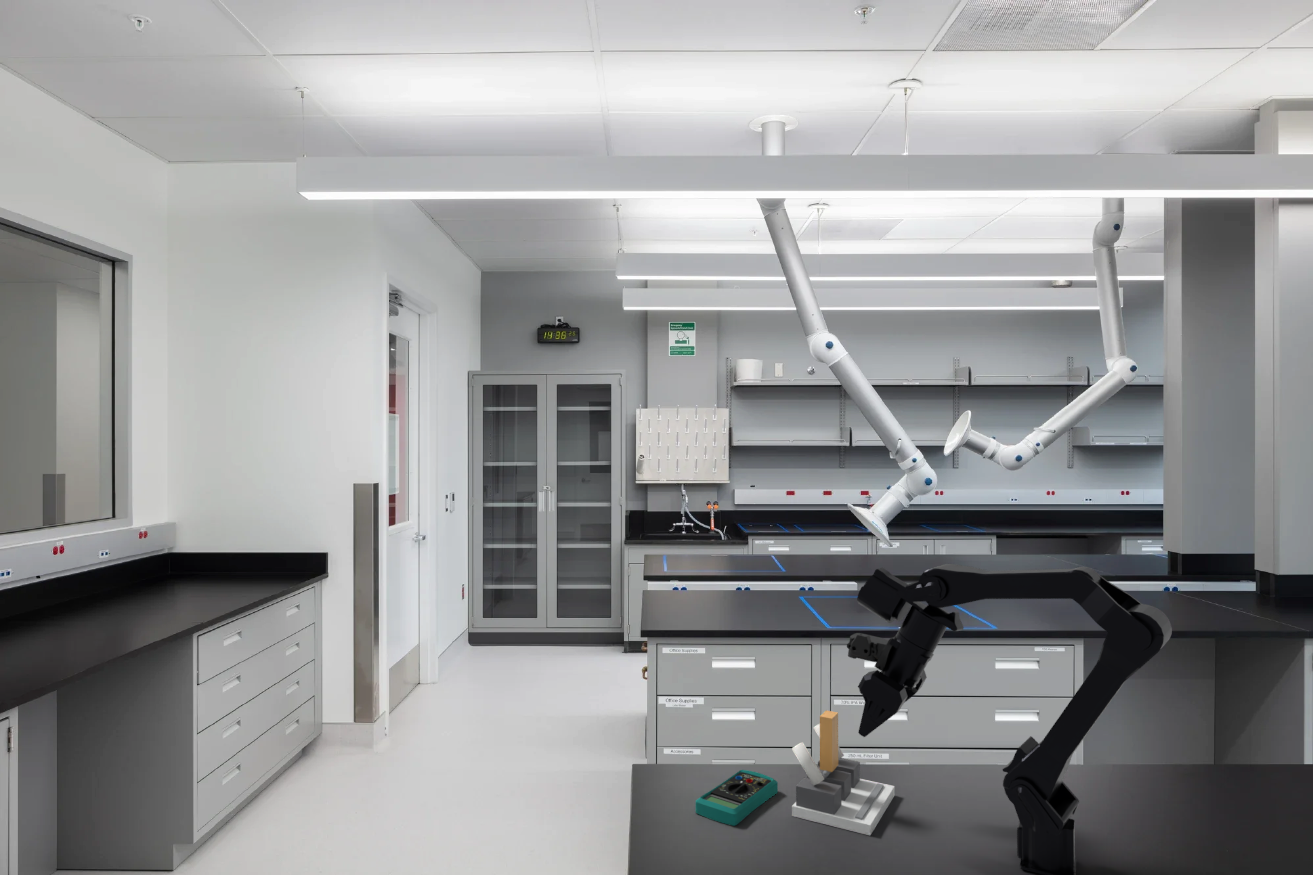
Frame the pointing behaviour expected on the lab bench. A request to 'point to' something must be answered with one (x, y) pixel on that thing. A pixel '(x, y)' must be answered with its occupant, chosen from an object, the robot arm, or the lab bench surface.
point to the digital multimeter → (736, 797)
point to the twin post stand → (839, 794)
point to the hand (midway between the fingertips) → (869, 727)
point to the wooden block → (828, 742)
